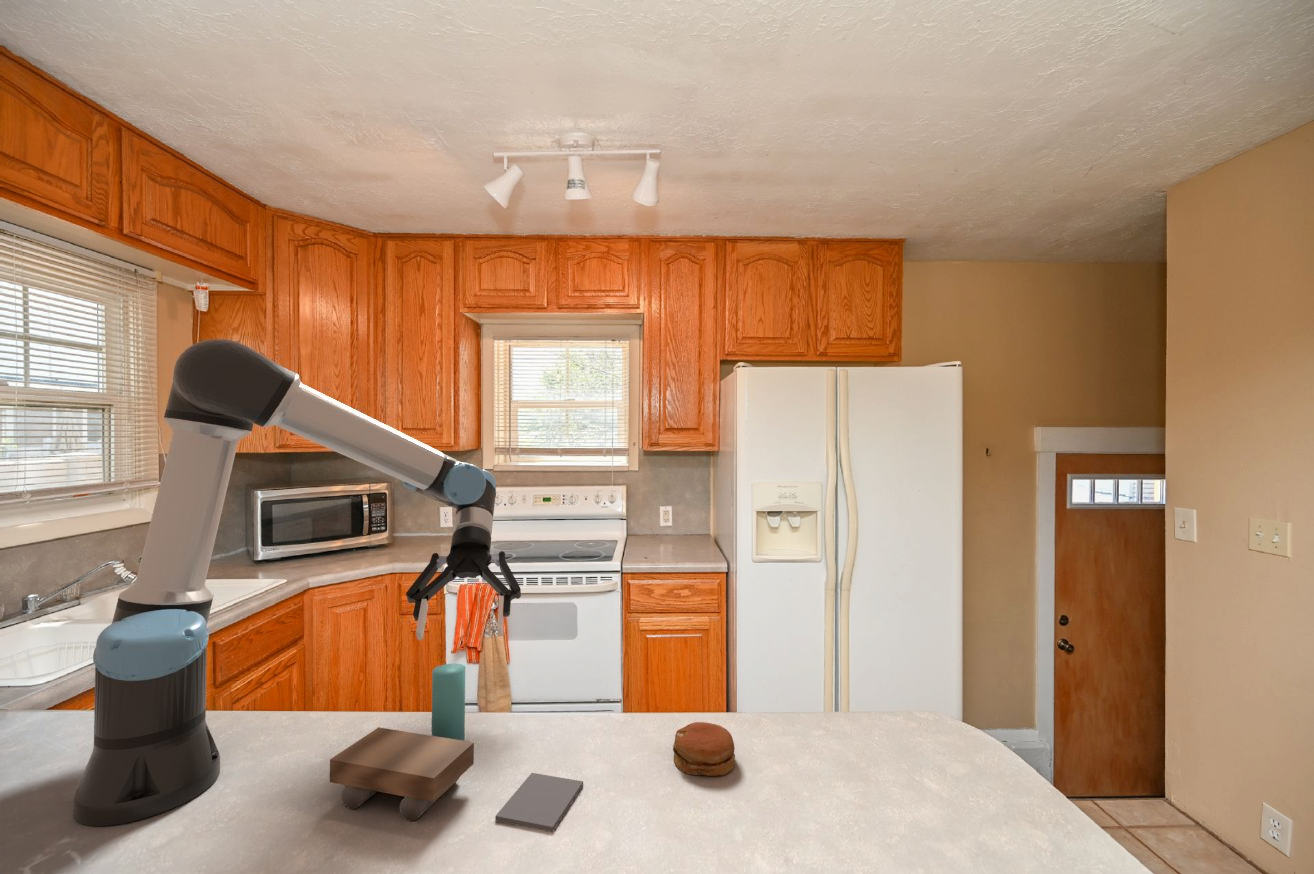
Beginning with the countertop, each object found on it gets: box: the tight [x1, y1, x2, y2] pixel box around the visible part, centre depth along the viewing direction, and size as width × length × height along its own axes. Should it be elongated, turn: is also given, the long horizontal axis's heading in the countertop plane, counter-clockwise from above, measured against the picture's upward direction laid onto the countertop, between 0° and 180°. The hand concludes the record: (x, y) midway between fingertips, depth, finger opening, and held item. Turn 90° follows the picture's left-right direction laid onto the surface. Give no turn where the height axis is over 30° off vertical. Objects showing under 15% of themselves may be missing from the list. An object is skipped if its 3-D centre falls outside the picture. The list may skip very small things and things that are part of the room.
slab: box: [329, 726, 475, 822], centre depth 79 cm, size 16×9×6 cm, turn 75°
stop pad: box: [494, 772, 584, 833], centre depth 77 cm, size 8×10×1 cm
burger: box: [672, 721, 736, 777], centre depth 88 cm, size 10×9×5 cm
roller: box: [431, 663, 466, 741], centre depth 92 cm, size 5×5×12 cm
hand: (459, 634), depth 101 cm, fingers open, 13 cm apart
